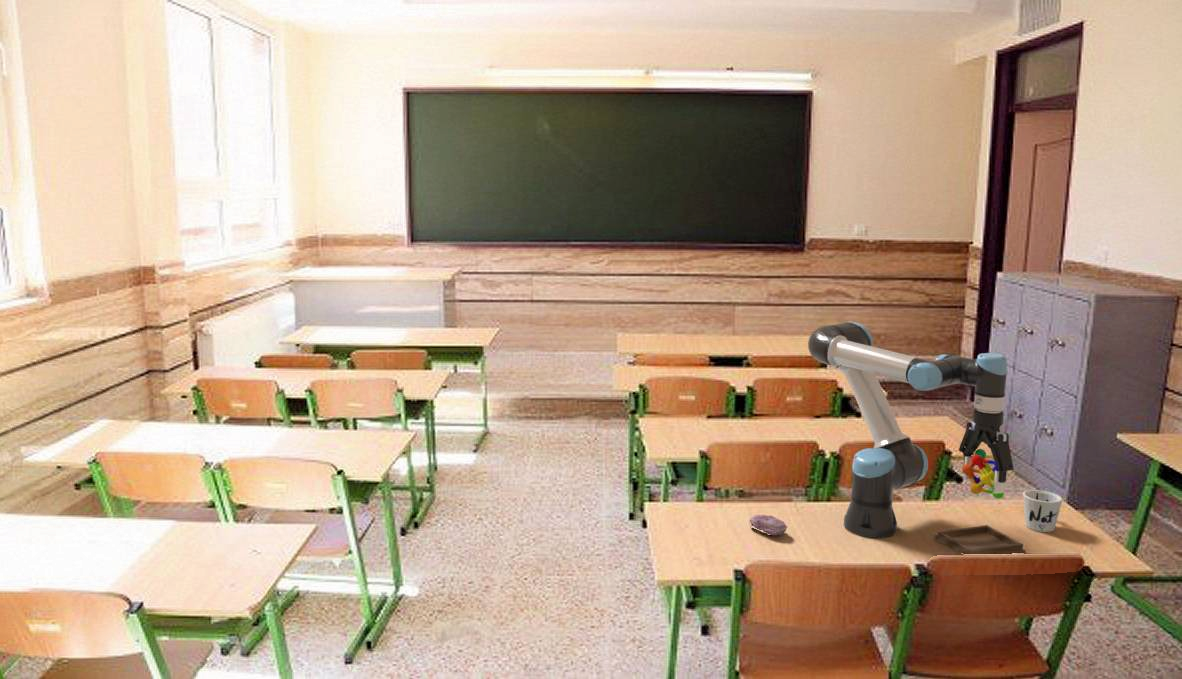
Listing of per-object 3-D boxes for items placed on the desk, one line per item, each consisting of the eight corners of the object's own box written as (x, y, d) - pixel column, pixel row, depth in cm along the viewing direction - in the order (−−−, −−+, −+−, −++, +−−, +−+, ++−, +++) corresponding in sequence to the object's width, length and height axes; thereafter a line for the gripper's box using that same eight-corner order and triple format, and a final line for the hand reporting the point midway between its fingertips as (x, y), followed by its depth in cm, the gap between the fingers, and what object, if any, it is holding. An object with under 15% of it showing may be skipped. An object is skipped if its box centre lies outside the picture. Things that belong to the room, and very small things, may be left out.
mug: (1023, 532, 245) (1026, 500, 243) (1014, 513, 259) (1016, 483, 257) (1063, 536, 242) (1066, 503, 240) (1051, 517, 256) (1054, 486, 254)
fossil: (772, 543, 239) (773, 526, 238) (741, 526, 251) (741, 510, 250) (794, 537, 242) (794, 520, 242) (762, 521, 255) (762, 505, 254)
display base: (934, 538, 241) (935, 530, 240) (983, 531, 245) (984, 523, 245) (973, 561, 225) (974, 553, 225) (1025, 554, 230) (1025, 545, 229)
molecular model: (1007, 499, 227) (1009, 458, 225) (982, 501, 226) (985, 460, 224) (982, 486, 238) (984, 447, 236) (959, 487, 237) (961, 448, 235)
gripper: (948, 400, 238) (943, 473, 242) (1008, 422, 216) (1002, 501, 219) (971, 398, 240) (966, 470, 244) (1032, 419, 217) (1026, 498, 221)
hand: (983, 485), depth 231 cm, fingers closed on molecular model, 11 cm apart
